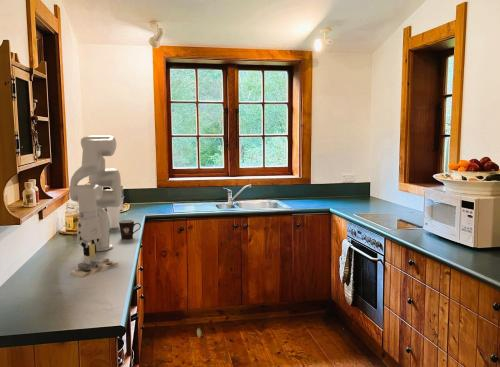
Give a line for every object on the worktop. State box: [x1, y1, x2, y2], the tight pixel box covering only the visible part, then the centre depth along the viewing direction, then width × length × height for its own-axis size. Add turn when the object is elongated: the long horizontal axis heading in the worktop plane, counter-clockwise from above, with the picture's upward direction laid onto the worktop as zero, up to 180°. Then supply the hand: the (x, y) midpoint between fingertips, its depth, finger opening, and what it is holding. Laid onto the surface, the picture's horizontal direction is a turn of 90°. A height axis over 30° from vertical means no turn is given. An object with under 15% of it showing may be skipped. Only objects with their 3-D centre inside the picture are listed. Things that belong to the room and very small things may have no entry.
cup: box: [105, 198, 123, 229], centre depth 293 cm, size 11×11×18 cm
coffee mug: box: [118, 219, 142, 240], centre depth 264 cm, size 12×9×10 cm
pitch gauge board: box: [69, 258, 119, 278], centre depth 205 cm, size 20×8×4 cm, turn 149°
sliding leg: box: [84, 243, 100, 267], centre depth 204 cm, size 3×7×10 cm, turn 59°
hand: (90, 254), depth 205 cm, fingers closed on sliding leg, 3 cm apart
